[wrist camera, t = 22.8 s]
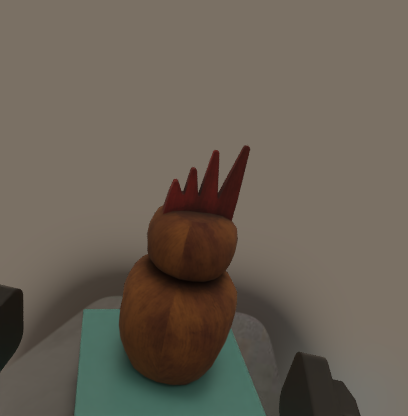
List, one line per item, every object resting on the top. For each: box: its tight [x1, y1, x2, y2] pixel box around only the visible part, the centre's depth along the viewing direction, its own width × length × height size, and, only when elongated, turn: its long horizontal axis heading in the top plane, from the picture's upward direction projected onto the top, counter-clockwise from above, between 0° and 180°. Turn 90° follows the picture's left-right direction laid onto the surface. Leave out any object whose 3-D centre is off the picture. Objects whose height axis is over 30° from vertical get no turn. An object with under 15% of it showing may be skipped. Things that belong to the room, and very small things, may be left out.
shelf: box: [74, 309, 266, 416], centre depth 26 cm, size 11×10×7 cm
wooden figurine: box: [119, 146, 250, 385], centre depth 21 cm, size 7×6×15 cm
